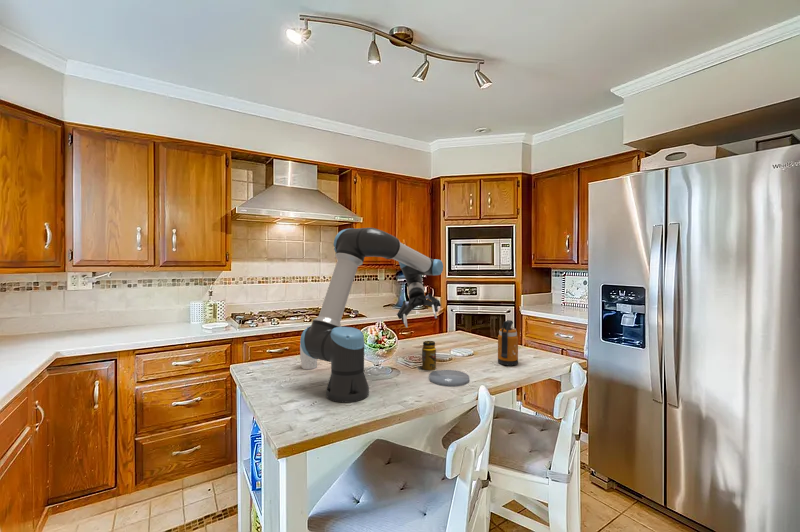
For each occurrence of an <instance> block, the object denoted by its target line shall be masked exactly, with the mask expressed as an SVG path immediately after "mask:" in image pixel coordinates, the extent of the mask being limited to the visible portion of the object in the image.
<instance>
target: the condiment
mask: <svg viewBox="0 0 800 532" xmlns="http://www.w3.org/2000/svg"><path fill="white" fill-rule="evenodd" d="M422 342H423V343H422V348H421V351H422V352H421V365H416V367H415V368H416V369H417V371H418V372H433V371H437V370H438V368H437V364H436V363H437V356H436V355H437V348H436V342H435V341H434V340H424V341H422Z"/></svg>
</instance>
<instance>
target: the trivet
mask: <svg viewBox="0 0 800 532" xmlns="http://www.w3.org/2000/svg"><path fill="white" fill-rule="evenodd" d="M428 380H429V382H430V383H432V384H434V385H437V386H442V387H460V386H464V385H467V384H469V383H470V376H469V374H468V373H467V372H463V371H461V370H456V369H455V370H454V369H437V371H430V373H429V374H428Z"/></svg>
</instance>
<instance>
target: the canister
mask: <svg viewBox="0 0 800 532" xmlns="http://www.w3.org/2000/svg"><path fill="white" fill-rule="evenodd" d="M513 324H514V321H513V320H509V319H507V320H506V321H505V320H504V321H503V323H502V326H501V328H500V329H499V331H498V333H499V334H498V335H497V363H499V364H501V365H503V366H509V367H510V366H511V367H512V366H515V365H518V364H519V335H518V332H517V329H516V328H515V327H513Z"/></svg>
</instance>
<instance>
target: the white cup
mask: <svg viewBox="0 0 800 532" xmlns="http://www.w3.org/2000/svg"><path fill="white" fill-rule="evenodd" d="M299 352H300V353H299V354H300V364H301V365H300V367H301V369H302V368H303V369H302V370H314V369H316V368H318V360H319V359H314V358H312V357H309V356H307V355H306V354H305V353H304V352H303V351H302V348H301V344H300V345H299Z"/></svg>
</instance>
